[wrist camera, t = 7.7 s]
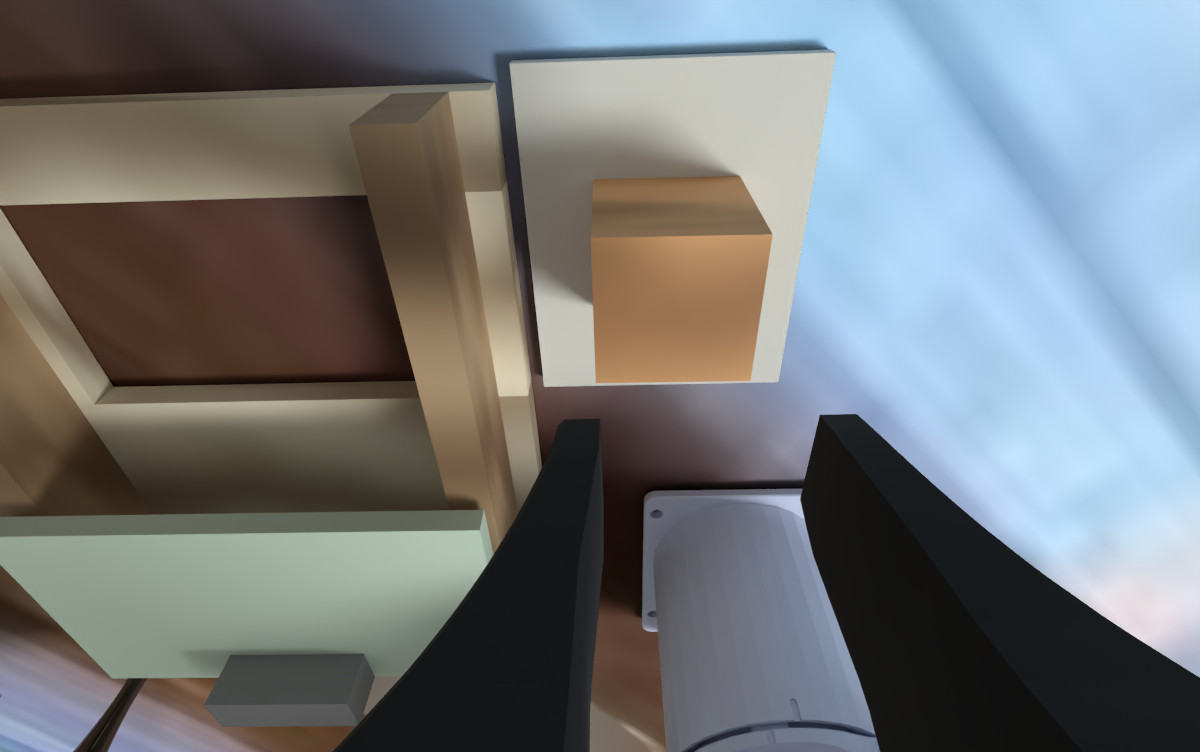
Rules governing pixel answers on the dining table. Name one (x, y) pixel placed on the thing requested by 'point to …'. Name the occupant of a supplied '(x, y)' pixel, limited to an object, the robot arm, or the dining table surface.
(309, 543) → the slide cover
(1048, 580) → the robot arm
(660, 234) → the wooden block
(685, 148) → the mat
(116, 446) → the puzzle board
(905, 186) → the dining table surface
